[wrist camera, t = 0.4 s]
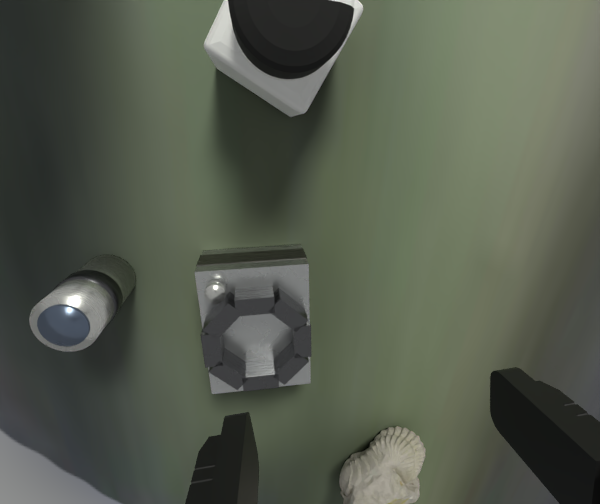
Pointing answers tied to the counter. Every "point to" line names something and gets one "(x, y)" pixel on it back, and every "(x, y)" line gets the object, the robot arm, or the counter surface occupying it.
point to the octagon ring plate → (255, 317)
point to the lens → (83, 304)
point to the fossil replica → (384, 470)
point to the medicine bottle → (281, 46)
